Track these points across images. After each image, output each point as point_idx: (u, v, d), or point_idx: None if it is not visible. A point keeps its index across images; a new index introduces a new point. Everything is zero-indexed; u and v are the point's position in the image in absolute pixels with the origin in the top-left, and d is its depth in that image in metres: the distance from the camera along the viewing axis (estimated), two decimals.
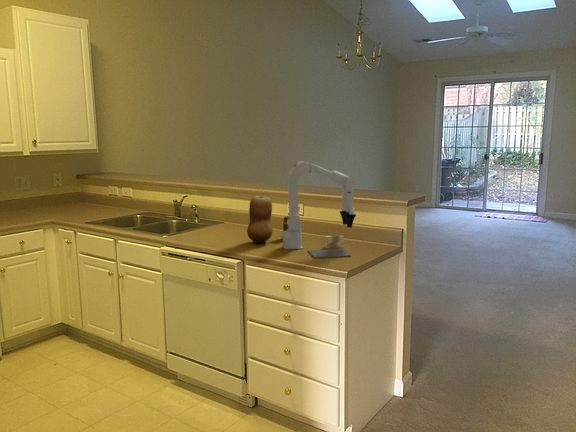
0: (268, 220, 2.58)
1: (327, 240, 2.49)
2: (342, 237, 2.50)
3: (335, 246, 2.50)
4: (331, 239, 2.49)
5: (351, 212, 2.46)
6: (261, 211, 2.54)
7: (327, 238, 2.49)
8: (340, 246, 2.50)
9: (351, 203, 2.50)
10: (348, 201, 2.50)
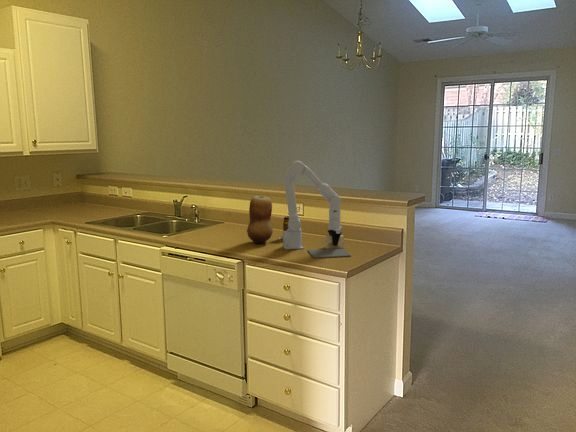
0: (268, 220, 2.58)
1: (327, 240, 2.49)
2: (342, 237, 2.50)
3: (335, 246, 2.50)
4: (331, 239, 2.49)
5: (338, 231, 2.43)
6: (261, 211, 2.54)
7: (328, 238, 2.48)
8: (340, 246, 2.50)
9: (338, 222, 2.47)
10: (335, 220, 2.46)
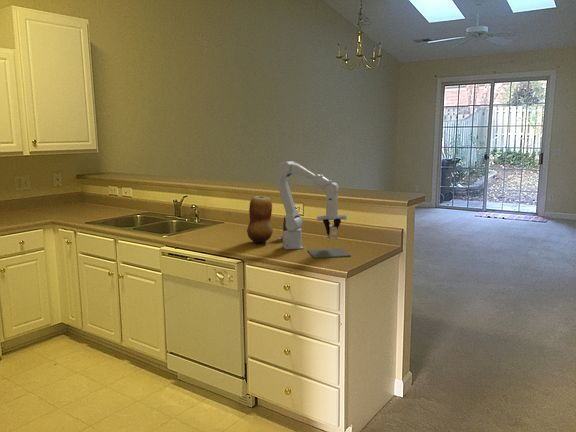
0: (268, 220, 2.58)
1: None
2: (331, 229, 2.38)
3: (329, 236, 2.42)
4: None
5: (317, 218, 2.40)
6: (261, 211, 2.54)
7: None
8: (330, 237, 2.40)
9: (327, 210, 2.39)
10: (326, 207, 2.41)
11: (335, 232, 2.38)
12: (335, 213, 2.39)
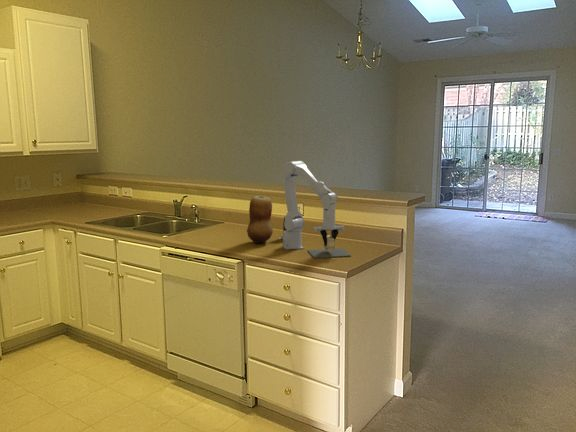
0: (268, 220, 2.58)
1: None
2: (328, 240, 2.33)
3: (326, 247, 2.37)
4: None
5: (314, 229, 2.36)
6: (261, 211, 2.54)
7: None
8: (327, 249, 2.35)
9: (324, 221, 2.34)
10: (323, 218, 2.36)
11: (332, 243, 2.33)
12: (332, 224, 2.34)
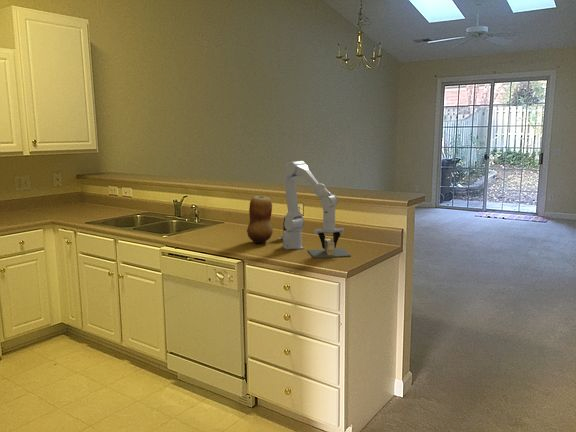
0: (268, 220, 2.58)
1: None
2: (328, 243, 2.33)
3: (326, 251, 2.38)
4: (325, 242, 2.39)
5: (314, 231, 2.36)
6: (261, 211, 2.54)
7: None
8: (327, 252, 2.35)
9: (324, 223, 2.35)
10: (323, 221, 2.36)
11: (332, 247, 2.33)
12: (332, 226, 2.34)
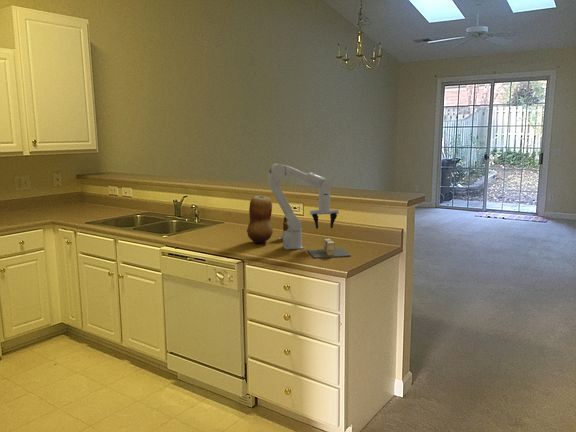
0: (268, 220, 2.58)
1: (324, 242, 2.41)
2: (328, 243, 2.33)
3: (326, 251, 2.38)
4: (325, 242, 2.39)
5: (310, 212, 2.51)
6: (261, 211, 2.54)
7: (324, 240, 2.41)
8: (327, 252, 2.35)
9: (320, 205, 2.49)
10: None
11: (332, 247, 2.33)
12: (327, 208, 2.49)
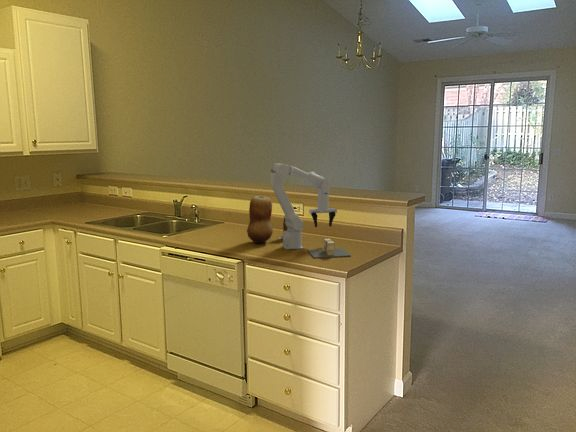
0: (268, 220, 2.58)
1: (324, 242, 2.41)
2: (328, 243, 2.33)
3: (326, 251, 2.38)
4: (325, 242, 2.39)
5: (309, 211, 2.54)
6: (261, 211, 2.54)
7: (324, 240, 2.41)
8: (327, 252, 2.35)
9: (319, 204, 2.53)
10: None
11: (332, 247, 2.33)
12: (326, 206, 2.53)
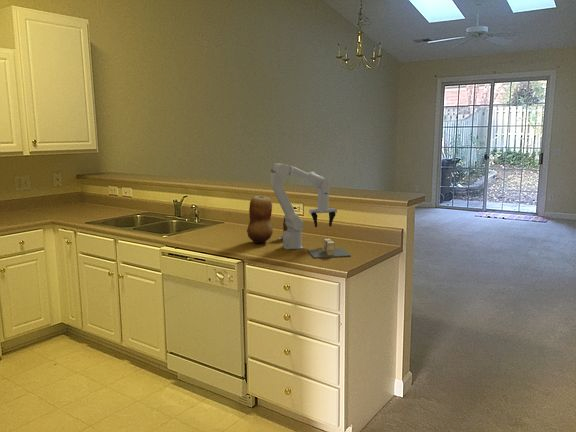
0: (268, 220, 2.58)
1: (324, 242, 2.41)
2: (328, 243, 2.33)
3: (326, 251, 2.38)
4: (325, 242, 2.39)
5: (309, 211, 2.54)
6: (261, 211, 2.54)
7: (324, 240, 2.41)
8: (327, 252, 2.35)
9: (319, 204, 2.53)
10: None
11: (332, 247, 2.33)
12: (326, 206, 2.53)
